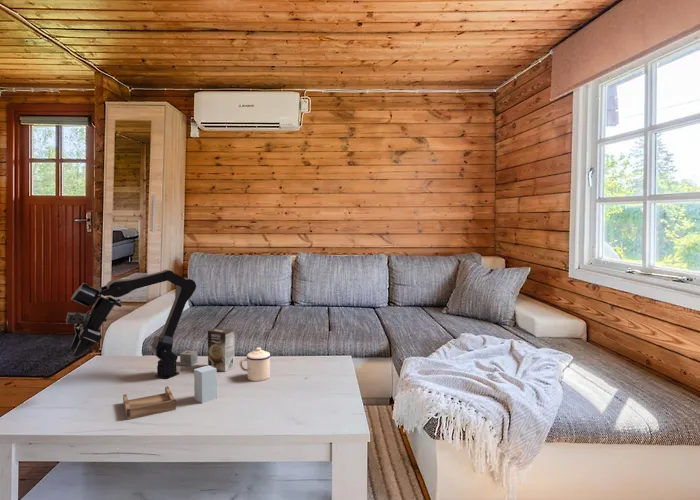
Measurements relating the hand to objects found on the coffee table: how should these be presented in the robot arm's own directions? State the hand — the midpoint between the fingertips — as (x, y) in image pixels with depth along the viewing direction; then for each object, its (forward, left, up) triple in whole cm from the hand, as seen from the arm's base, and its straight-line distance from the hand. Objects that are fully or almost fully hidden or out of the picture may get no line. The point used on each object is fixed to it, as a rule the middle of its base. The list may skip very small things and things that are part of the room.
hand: (73, 352), depth 150 cm
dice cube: (-42, +10, -15) cm, 46 cm away
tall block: (-18, +43, -15) cm, 49 cm away
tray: (-5, +31, -15) cm, 35 cm away
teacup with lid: (-42, +45, -15) cm, 64 cm away
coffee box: (-44, +26, -15) cm, 53 cm away
